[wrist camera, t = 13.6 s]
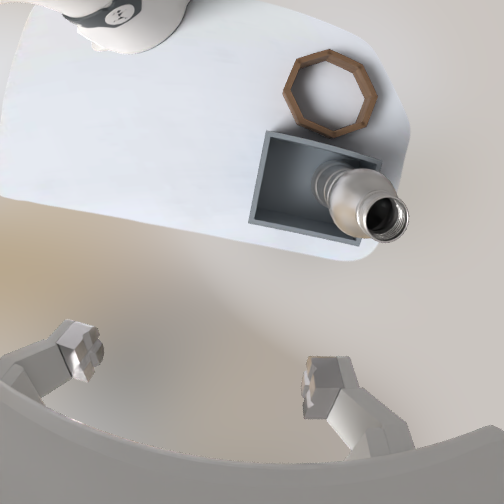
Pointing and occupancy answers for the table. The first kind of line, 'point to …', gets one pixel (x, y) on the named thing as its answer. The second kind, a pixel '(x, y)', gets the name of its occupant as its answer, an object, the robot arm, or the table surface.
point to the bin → (299, 186)
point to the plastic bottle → (360, 201)
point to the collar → (346, 64)
